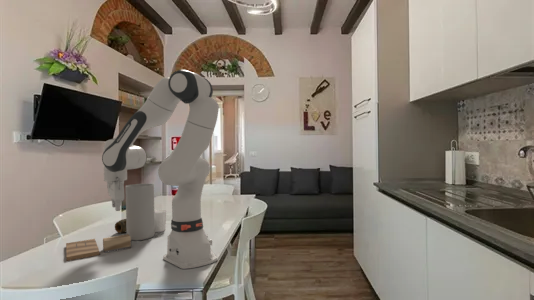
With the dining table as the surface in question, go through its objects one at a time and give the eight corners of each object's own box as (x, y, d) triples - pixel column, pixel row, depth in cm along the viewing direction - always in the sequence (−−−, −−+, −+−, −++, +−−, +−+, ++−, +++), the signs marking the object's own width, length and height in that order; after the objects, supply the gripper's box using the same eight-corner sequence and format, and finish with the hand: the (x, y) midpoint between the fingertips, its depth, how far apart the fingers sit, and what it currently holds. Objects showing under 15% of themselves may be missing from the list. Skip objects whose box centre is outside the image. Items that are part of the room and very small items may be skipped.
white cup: (169, 228, 161) (168, 209, 161) (162, 232, 153) (162, 212, 153) (154, 228, 161) (154, 209, 161) (147, 232, 154) (147, 212, 153)
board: (99, 254, 122) (99, 251, 122) (66, 260, 116) (66, 256, 116) (94, 241, 139) (94, 238, 139) (66, 246, 133) (66, 243, 133)
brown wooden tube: (125, 234, 151) (124, 221, 151) (113, 234, 152) (113, 220, 152) (144, 227, 165) (144, 214, 165) (134, 226, 167) (133, 214, 167)
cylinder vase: (144, 241, 138) (143, 187, 138) (120, 240, 141) (119, 186, 141) (159, 233, 151) (158, 183, 150) (137, 233, 153) (136, 183, 153)
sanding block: (130, 248, 130) (130, 236, 130) (104, 253, 124) (104, 241, 124) (128, 245, 134) (128, 234, 134) (103, 250, 128) (102, 238, 128)
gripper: (128, 177, 122) (128, 212, 122) (120, 174, 139) (120, 204, 139) (110, 178, 118) (111, 214, 119) (104, 175, 135) (105, 206, 136)
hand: (116, 208), depth 129 cm, fingers open, 8 cm apart
